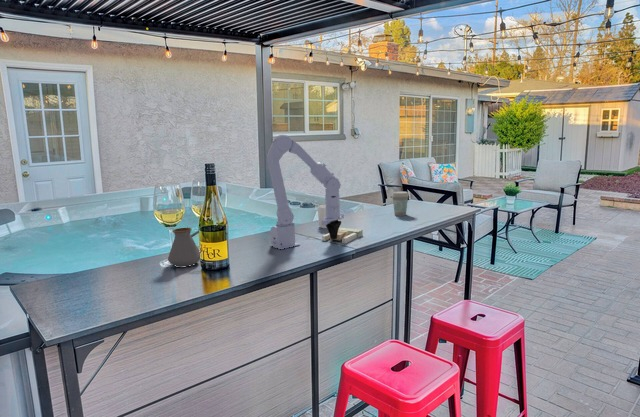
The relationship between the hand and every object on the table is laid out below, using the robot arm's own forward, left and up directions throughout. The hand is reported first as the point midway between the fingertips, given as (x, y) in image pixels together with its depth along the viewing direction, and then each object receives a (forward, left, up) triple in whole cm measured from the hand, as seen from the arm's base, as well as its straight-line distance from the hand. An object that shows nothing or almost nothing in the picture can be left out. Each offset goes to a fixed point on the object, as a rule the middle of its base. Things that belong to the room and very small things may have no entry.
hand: (333, 238), depth 175 cm
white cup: (+15, +24, -2) cm, 28 cm away
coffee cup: (+59, +17, -2) cm, 61 cm away
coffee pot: (-52, +15, -2) cm, 54 cm away
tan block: (+4, +2, -1) cm, 5 cm away
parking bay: (+7, +2, -1) cm, 7 cm away
